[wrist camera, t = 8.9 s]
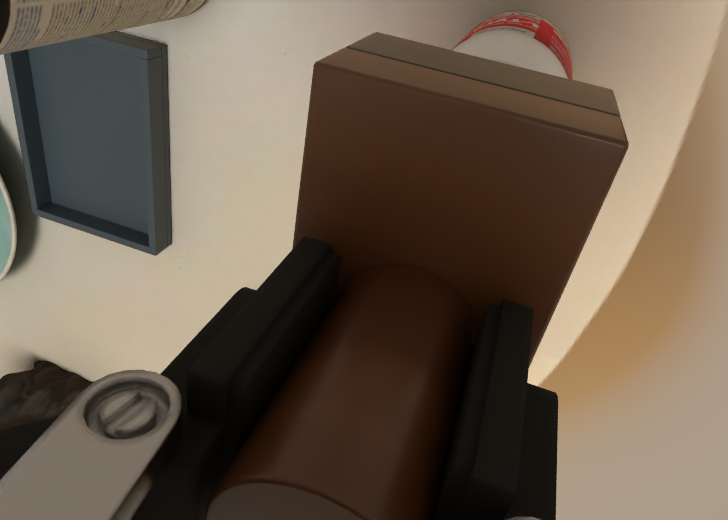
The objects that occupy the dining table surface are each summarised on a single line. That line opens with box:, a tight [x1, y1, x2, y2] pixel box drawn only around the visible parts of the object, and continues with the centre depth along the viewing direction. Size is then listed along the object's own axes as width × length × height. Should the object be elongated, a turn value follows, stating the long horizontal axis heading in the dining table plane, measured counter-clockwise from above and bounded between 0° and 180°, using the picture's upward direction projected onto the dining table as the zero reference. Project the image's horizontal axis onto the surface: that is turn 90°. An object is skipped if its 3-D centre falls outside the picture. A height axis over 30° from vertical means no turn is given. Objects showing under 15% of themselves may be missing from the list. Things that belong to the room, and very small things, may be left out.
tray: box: [4, 31, 172, 256], centre depth 40 cm, size 15×11×2 cm
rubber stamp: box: [205, 32, 628, 520], centre depth 10 cm, size 9×5×8 cm, turn 170°
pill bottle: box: [452, 12, 572, 80], centre depth 26 cm, size 6×6×11 cm
